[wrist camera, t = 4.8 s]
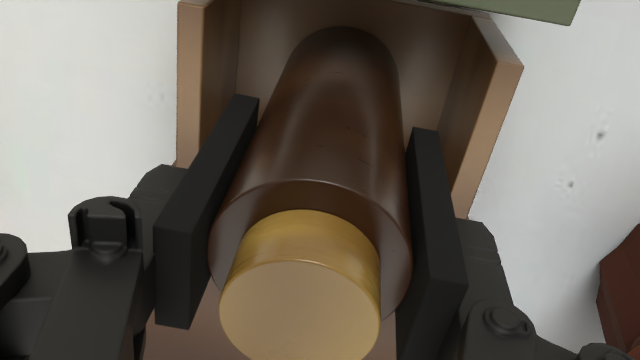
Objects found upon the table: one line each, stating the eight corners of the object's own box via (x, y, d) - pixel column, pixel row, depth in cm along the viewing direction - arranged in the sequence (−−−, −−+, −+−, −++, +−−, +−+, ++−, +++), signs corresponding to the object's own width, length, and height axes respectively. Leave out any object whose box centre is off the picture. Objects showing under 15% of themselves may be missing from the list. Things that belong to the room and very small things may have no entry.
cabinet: (197, 126, 25) (127, 229, 18) (458, 175, 25) (488, 297, 18) (190, 333, 33) (140, 461, 26) (389, 371, 33) (391, 508, 26)
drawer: (216, -153, 18) (146, -158, 13) (543, -93, 18) (611, -72, 13) (202, 195, 26) (155, 284, 20) (429, 238, 26) (442, 338, 20)
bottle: (412, 38, 20) (448, 255, 9) (384, 144, 22) (387, 414, 11) (291, 15, 20) (183, 205, 9) (277, 124, 22) (180, 375, 11)
